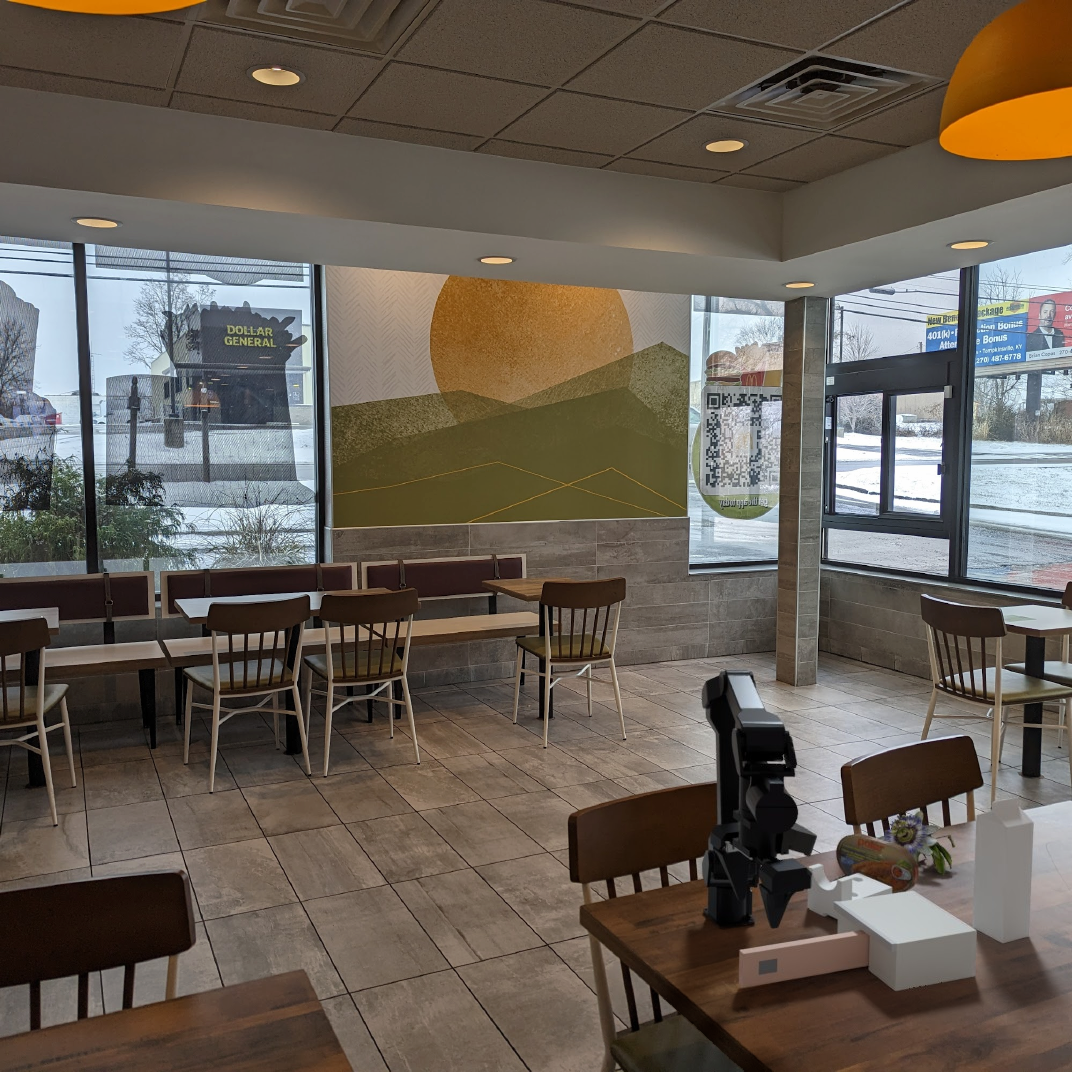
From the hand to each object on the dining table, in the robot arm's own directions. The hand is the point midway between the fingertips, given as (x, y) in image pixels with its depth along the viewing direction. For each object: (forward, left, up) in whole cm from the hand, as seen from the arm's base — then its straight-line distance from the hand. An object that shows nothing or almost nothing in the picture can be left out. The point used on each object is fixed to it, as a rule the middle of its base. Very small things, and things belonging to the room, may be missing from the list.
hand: (757, 913), depth 138 cm
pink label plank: (+9, 0, -10) cm, 13 cm away
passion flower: (+52, +30, -11) cm, 61 cm away
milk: (+47, +3, -11) cm, 48 cm away
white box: (+26, 0, -11) cm, 28 cm away
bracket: (+29, +18, -11) cm, 35 cm away
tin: (+39, +24, -11) cm, 47 cm away
